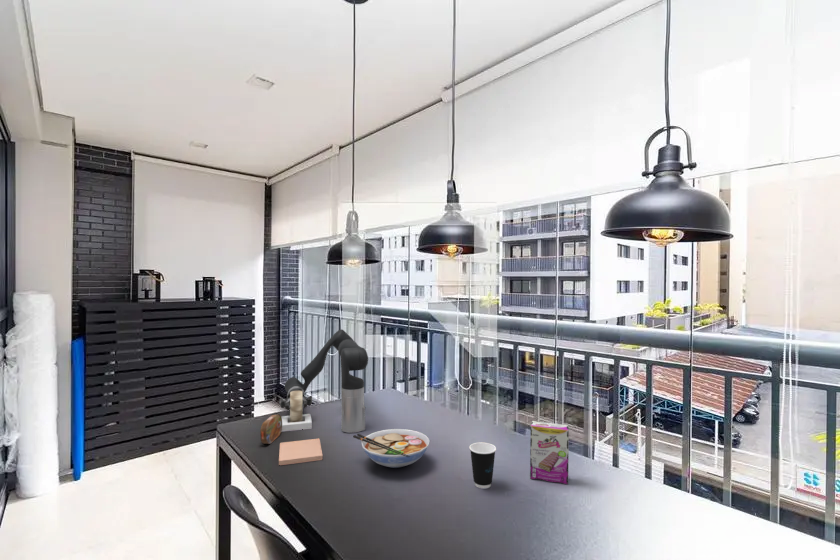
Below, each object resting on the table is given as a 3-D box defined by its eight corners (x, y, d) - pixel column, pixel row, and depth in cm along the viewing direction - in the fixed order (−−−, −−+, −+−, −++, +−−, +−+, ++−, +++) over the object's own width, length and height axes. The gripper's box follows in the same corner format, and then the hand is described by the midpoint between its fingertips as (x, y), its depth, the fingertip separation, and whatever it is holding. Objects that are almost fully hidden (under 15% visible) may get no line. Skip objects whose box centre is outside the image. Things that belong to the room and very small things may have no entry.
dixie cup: (495, 492, 116) (495, 454, 116) (467, 489, 117) (467, 451, 118) (496, 479, 123) (496, 443, 124) (470, 476, 125) (470, 441, 125)
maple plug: (302, 422, 174) (302, 390, 175) (302, 426, 170) (302, 393, 170) (290, 424, 173) (290, 391, 173) (290, 428, 168) (290, 394, 168)
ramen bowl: (446, 463, 135) (446, 438, 135) (396, 488, 118) (396, 460, 118) (394, 443, 152) (394, 421, 152) (344, 463, 135) (344, 438, 135)
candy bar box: (529, 479, 123) (529, 425, 124) (531, 472, 128) (530, 420, 128) (569, 485, 120) (568, 429, 120) (568, 477, 124) (568, 424, 125)
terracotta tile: (319, 442, 153) (319, 438, 153) (322, 459, 138) (322, 455, 138) (280, 446, 148) (280, 442, 148) (278, 465, 133) (278, 461, 133)
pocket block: (310, 419, 179) (310, 413, 179) (311, 428, 167) (311, 422, 167) (281, 422, 175) (281, 416, 175) (280, 431, 164) (280, 425, 164)
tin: (267, 447, 148) (267, 424, 148) (258, 447, 148) (258, 424, 148) (283, 432, 163) (283, 411, 163) (275, 432, 163) (275, 411, 164)
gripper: (279, 389, 183) (278, 399, 167) (312, 386, 187) (314, 396, 171) (279, 405, 183) (278, 417, 167) (312, 403, 187) (314, 414, 171)
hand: (296, 406), depth 169 cm, fingers open, 6 cm apart
